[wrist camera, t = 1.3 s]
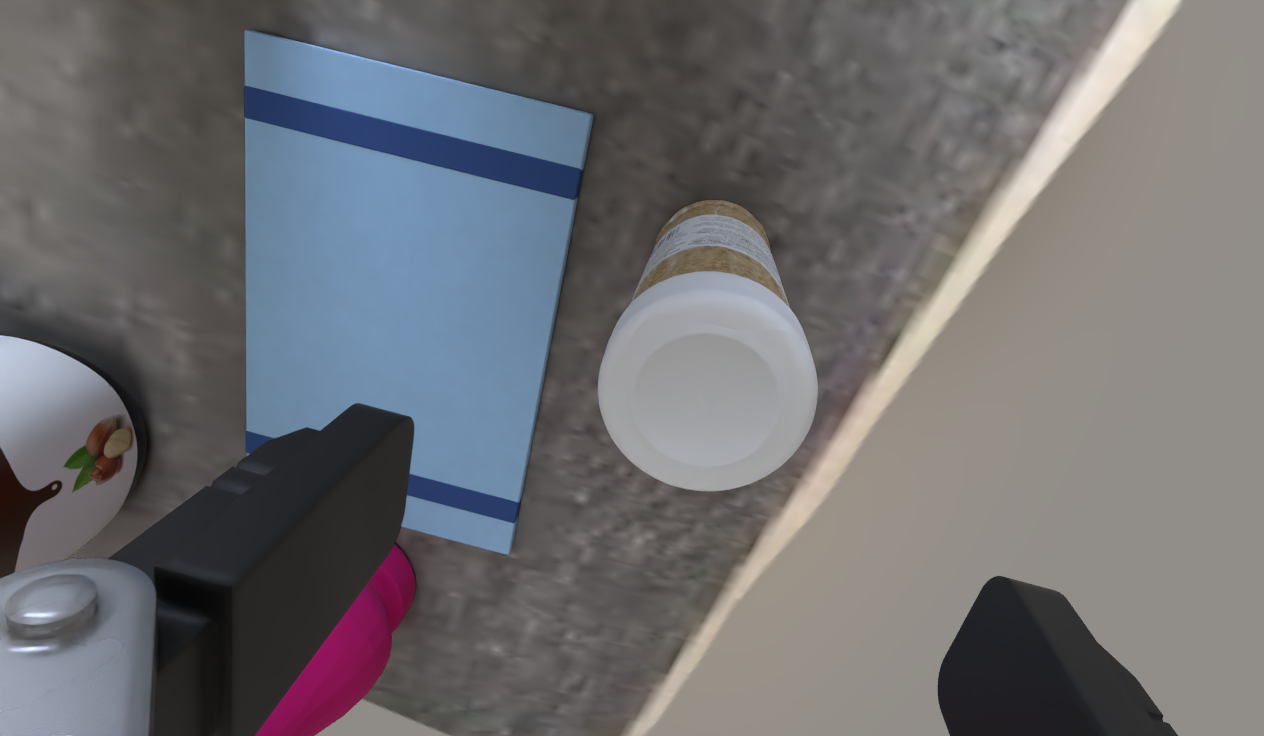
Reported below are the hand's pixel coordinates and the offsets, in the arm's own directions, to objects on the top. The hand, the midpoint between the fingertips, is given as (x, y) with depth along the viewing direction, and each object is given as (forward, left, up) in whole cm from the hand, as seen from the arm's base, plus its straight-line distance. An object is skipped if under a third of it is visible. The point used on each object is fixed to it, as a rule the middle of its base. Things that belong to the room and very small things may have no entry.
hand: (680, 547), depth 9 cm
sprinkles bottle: (0, 0, -18) cm, 18 cm away
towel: (+6, -12, -18) cm, 22 cm away
